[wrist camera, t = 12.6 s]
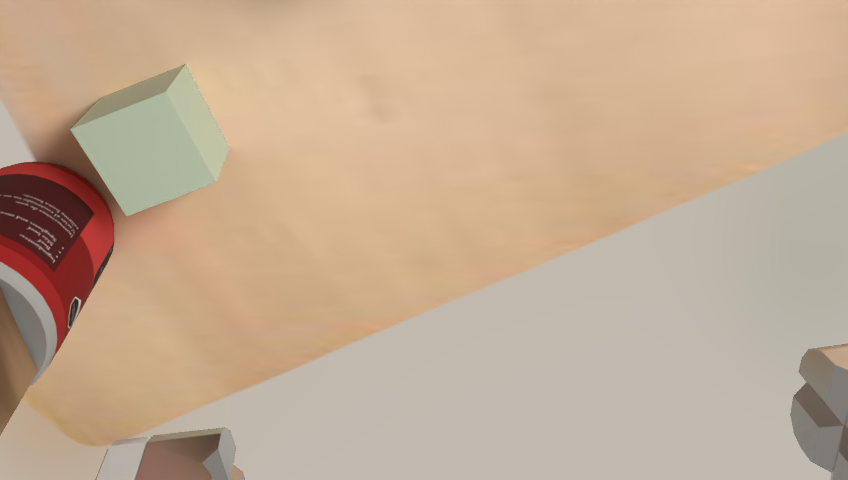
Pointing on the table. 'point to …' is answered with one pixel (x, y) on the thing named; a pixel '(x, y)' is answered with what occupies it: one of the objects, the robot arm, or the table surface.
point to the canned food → (50, 251)
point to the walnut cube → (12, 364)
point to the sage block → (153, 140)
